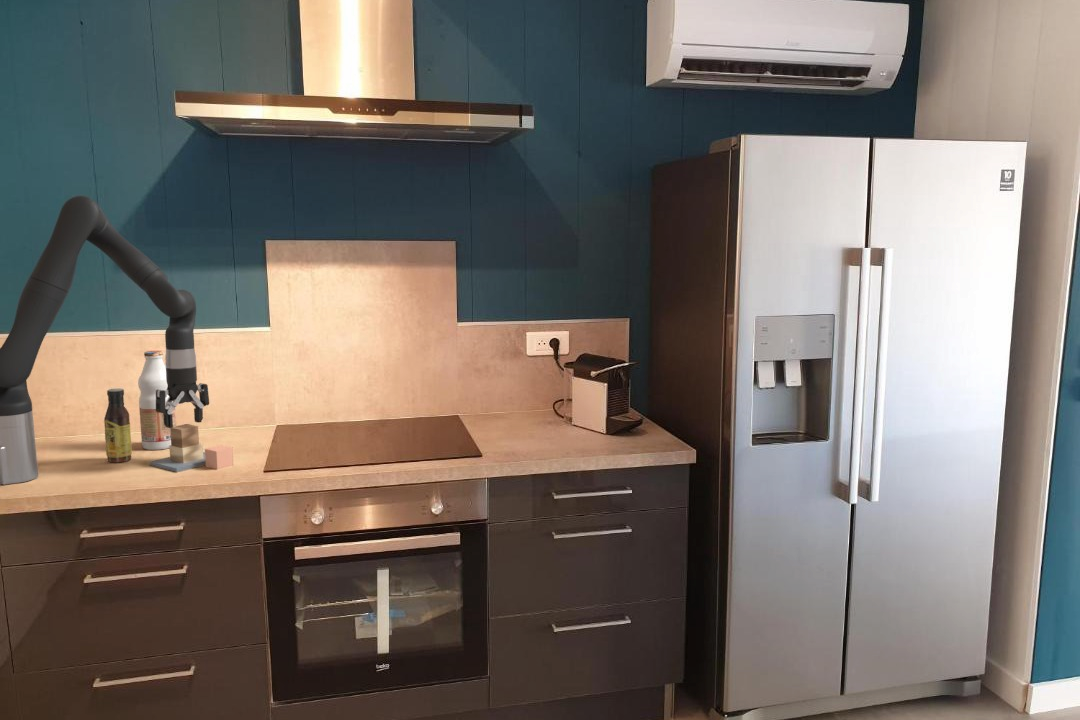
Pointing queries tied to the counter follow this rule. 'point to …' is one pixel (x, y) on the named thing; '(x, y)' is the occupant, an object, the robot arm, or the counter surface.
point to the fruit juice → (153, 403)
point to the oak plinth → (186, 453)
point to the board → (177, 464)
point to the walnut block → (184, 435)
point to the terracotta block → (219, 457)
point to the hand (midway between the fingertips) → (184, 424)
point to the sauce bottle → (117, 428)
